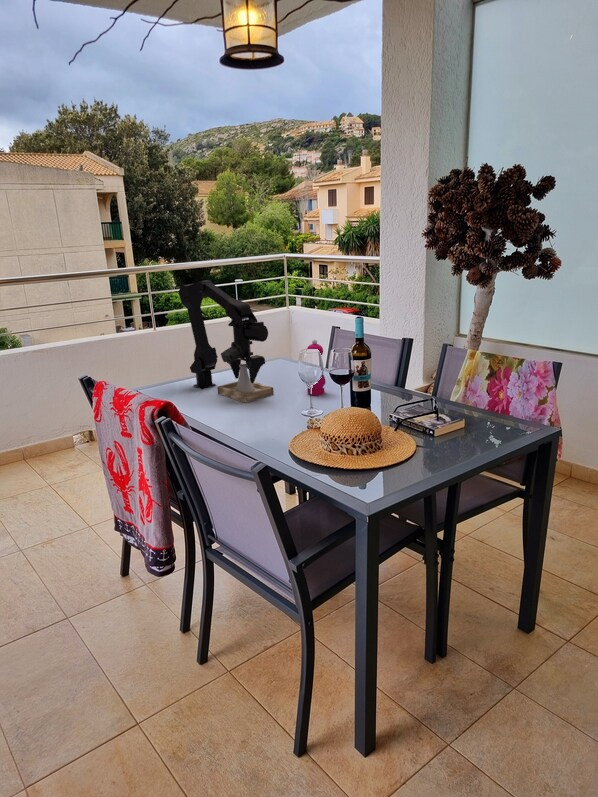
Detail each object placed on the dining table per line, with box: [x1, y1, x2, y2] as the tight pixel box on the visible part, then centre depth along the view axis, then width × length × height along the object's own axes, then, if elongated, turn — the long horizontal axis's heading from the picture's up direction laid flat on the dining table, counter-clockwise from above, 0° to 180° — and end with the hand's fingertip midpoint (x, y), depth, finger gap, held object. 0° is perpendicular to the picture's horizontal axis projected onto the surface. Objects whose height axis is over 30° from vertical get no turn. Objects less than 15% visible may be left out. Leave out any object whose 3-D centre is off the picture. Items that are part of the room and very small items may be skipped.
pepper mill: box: [305, 339, 326, 397], centre depth 202 cm, size 7×7×20 cm
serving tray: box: [216, 380, 275, 404], centre depth 206 cm, size 17×13×3 cm
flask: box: [235, 363, 255, 393], centre depth 205 cm, size 7×7×10 cm
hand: (244, 380), depth 205 cm, fingers open, 9 cm apart
